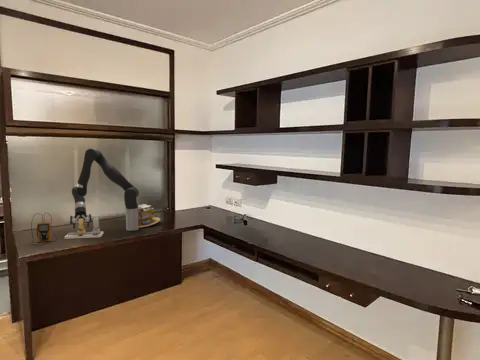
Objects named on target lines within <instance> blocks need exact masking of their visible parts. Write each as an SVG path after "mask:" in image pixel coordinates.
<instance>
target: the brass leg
mask: <svg viewBox="0 0 480 360" xmlns="http://www.w3.org/2000/svg"><path fill="white" fill-rule="evenodd" d="M77 223H78V229H77V231H76V233H79V234H80V235H81V233H85V232H86V229H85V221H84V219H83V218H80V219H78V222H77Z"/></svg>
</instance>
